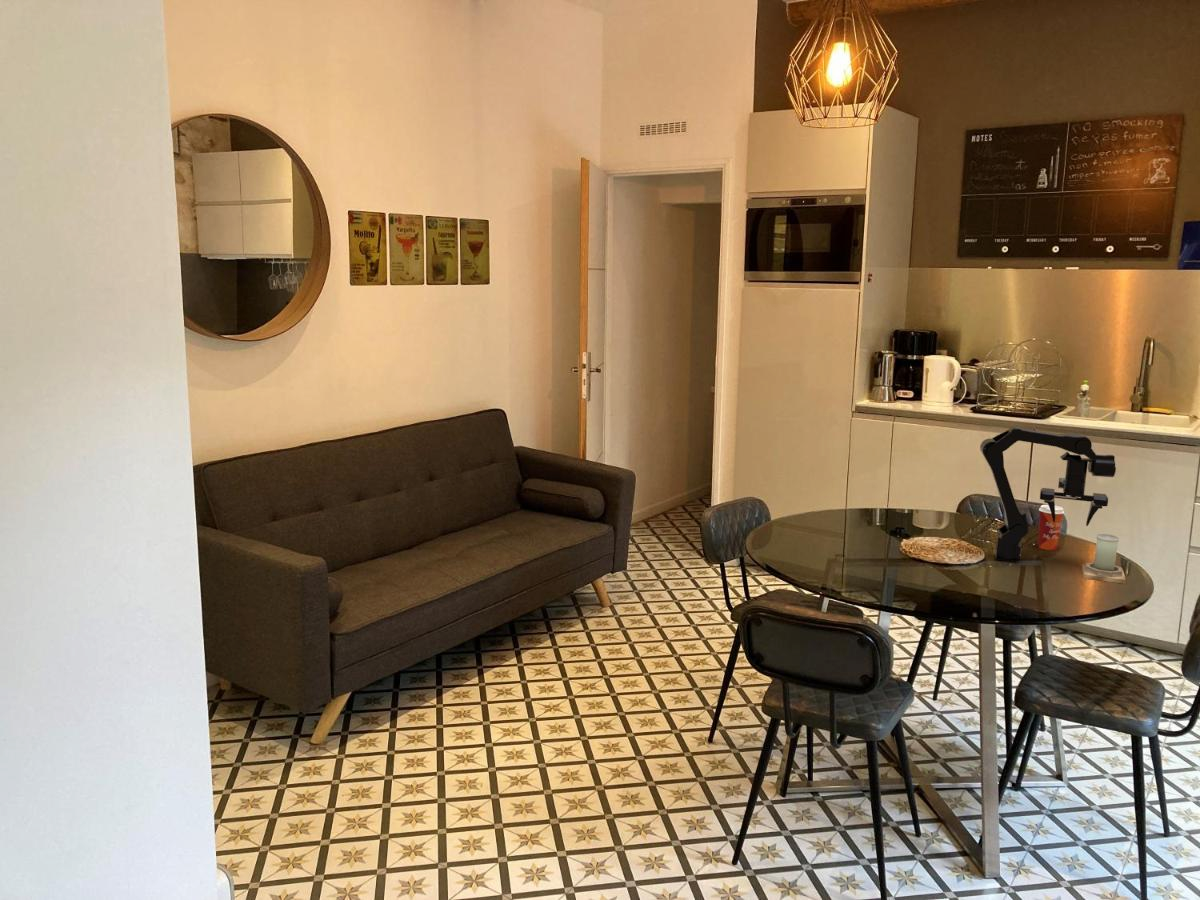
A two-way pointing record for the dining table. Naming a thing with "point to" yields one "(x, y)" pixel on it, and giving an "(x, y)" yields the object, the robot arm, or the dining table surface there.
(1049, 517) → the paper cup
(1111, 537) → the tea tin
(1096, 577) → the seat board
